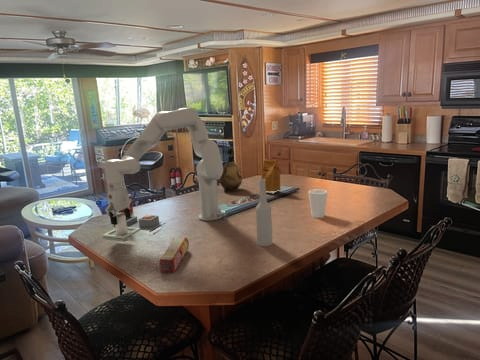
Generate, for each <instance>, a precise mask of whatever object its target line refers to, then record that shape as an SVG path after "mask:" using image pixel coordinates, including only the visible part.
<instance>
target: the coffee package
mask: <svg viewBox="0 0 480 360" xmlns="http://www.w3.org/2000/svg"><path fill="white" fill-rule="evenodd" d="M260 173H261V178H260V179H265V180H266V181H265V186H266V191H277V190H280V191H281V169H280V168H279V165H278V160H276V159H275V160H269V159H266V158H264V160H263V164H262V169H261V172H260Z"/></svg>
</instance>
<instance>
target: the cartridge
mask: <svg viewBox="0 0 480 360" xmlns="http://www.w3.org/2000/svg"><path fill="white" fill-rule="evenodd" d="M115 216H116V217H117V225H115V226H114V227H115V229H116V231H115V232H116V235H118V236H125V235H126V234H128V229H127V224H126V217H125V213H119V212H118V213H117V212H116V215H115Z"/></svg>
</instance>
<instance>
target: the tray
mask: <svg viewBox="0 0 480 360" xmlns="http://www.w3.org/2000/svg"><path fill="white" fill-rule="evenodd" d="M128 230H131V231H130V232H129V233H126V234H124V235H117V234H114V233H115V232H116V228H114V229H112V230H110V231H108V232H106V233H104V234H102V237H103V240H104V239H105V241H114V242H115V241H116V242H123V243H124V242H127V241H128V239H126V238H128V237H130V236H132V235H134V234H135V233H137V232H139V231H141V228H133V227H127V231H128Z"/></svg>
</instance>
